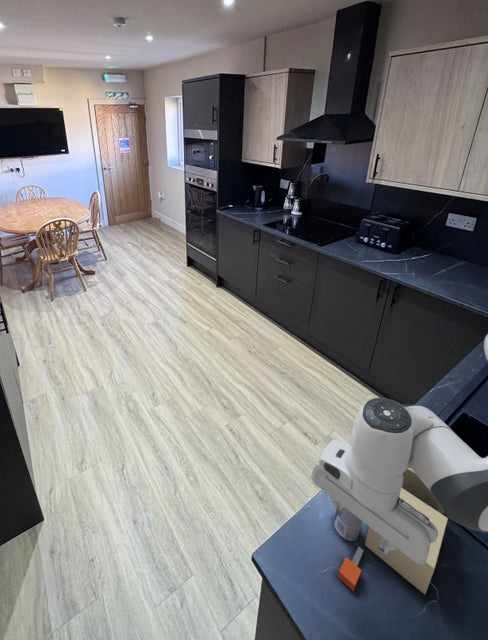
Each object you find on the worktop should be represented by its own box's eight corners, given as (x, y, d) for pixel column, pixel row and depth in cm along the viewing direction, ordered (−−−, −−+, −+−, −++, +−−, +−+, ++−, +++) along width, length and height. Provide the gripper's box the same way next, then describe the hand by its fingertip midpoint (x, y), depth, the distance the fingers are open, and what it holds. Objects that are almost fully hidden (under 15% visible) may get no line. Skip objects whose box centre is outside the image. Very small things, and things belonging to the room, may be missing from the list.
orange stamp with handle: (353, 591, 66) (355, 585, 65) (337, 576, 68) (339, 571, 68) (368, 556, 71) (369, 551, 71) (353, 544, 74) (354, 538, 73)
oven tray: (401, 467, 89) (406, 449, 87) (448, 496, 82) (454, 477, 80) (382, 512, 79) (387, 493, 77) (433, 550, 72) (440, 529, 70)
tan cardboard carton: (383, 503, 82) (389, 479, 79) (439, 543, 74) (448, 518, 71) (364, 544, 73) (370, 519, 71) (425, 595, 65) (434, 568, 63)
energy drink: (351, 515, 79) (358, 480, 75) (363, 541, 74) (371, 505, 70) (329, 516, 79) (336, 481, 75) (340, 542, 74) (347, 506, 70)
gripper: (445, 512, 54) (426, 563, 58) (325, 434, 68) (318, 480, 73) (436, 543, 50) (417, 596, 54) (311, 453, 64) (304, 501, 68)
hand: (359, 529), depth 64 cm, fingers open, 7 cm apart
